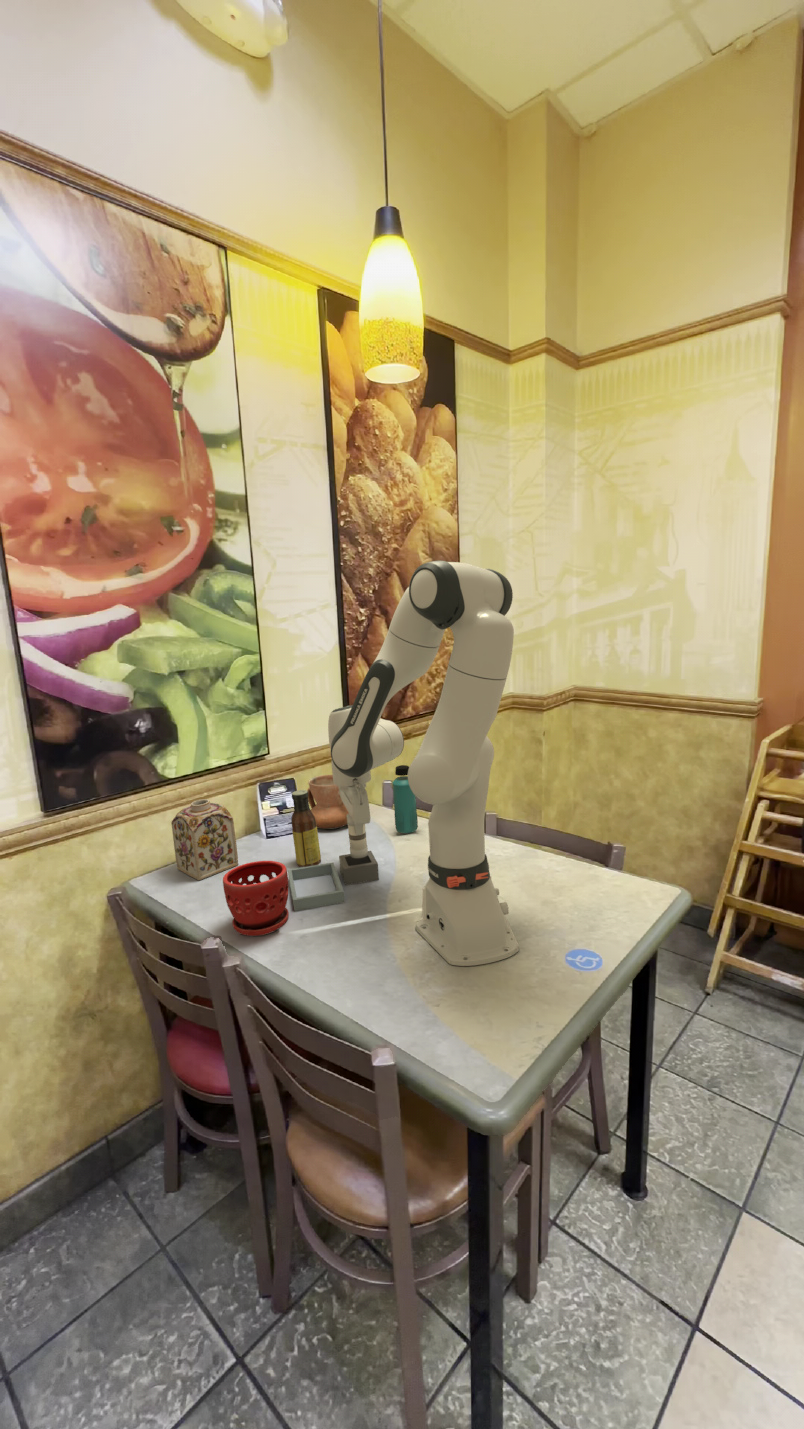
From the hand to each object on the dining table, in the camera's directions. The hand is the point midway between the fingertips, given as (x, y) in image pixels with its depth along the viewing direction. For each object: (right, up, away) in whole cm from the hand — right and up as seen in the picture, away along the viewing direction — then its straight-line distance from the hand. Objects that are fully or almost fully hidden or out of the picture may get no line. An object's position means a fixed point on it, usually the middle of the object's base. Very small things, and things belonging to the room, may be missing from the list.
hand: (357, 830), depth 144 cm
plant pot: (-19, -17, -15) cm, 30 cm away
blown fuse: (0, -6, +1) cm, 6 cm away
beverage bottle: (+12, -7, +29) cm, 32 cm away
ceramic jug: (-11, -6, +41) cm, 42 cm away
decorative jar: (-40, -13, +14) cm, 44 cm away
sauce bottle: (-13, -12, +12) cm, 21 cm away
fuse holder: (0, -12, +3) cm, 13 cm away
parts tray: (-9, -14, -4) cm, 17 cm away
